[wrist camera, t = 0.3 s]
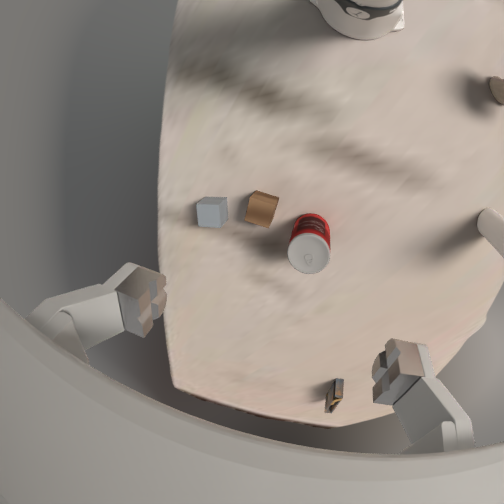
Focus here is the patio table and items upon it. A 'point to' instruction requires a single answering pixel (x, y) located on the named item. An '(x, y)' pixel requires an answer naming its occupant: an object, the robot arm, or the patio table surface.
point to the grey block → (212, 212)
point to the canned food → (309, 244)
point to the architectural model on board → (334, 396)
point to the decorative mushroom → (497, 88)
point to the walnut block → (261, 209)
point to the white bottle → (492, 228)
